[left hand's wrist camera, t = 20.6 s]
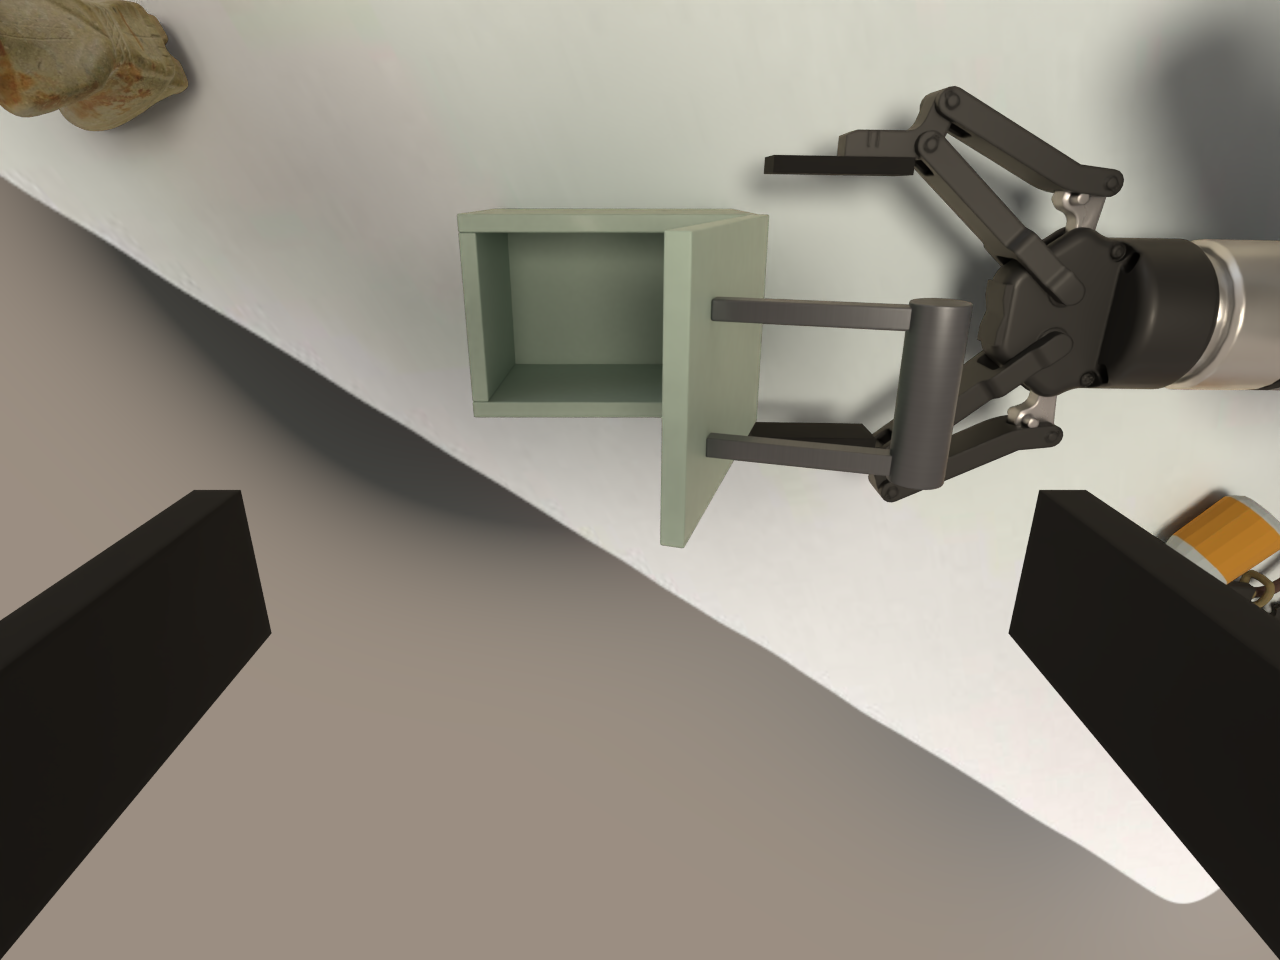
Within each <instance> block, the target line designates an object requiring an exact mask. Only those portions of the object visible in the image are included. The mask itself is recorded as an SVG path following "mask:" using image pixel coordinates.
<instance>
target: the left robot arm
mask: <svg viewBox="0 0 1280 960" xmlns="http://www.w3.org/2000/svg"><path fill="white" fill-rule="evenodd" d="M270 634H271V629H270V624H269V620H268V615H267V610H266V606H265V601H264V597H263V592H262V587H261V582H260V578H259V573H258V568H257V564H256V559H255V555H254V550H253V545H252V541H251V536H250V531H249V527H248V522H247V517H246V513H245V508H244V503H243V499H242V494H241V490H193V491H192V492H190V493H189V494H188V495H186V496H185V497H183V498H182V499H180V500H179V501H177V502H176V503H174V504H173V505H171V506H170V507H168V508H167V509H165V510H164V511H162V512H161V513H159V514H158V515H156V516H155V517H153V518H152V519H150V520H149V521H147V522H146V523H145V524H143V525H141V526H140V527H139V528H137V529H136V530H134V531H133V532H131V533H130V534H128V535H127V536H125V537H124V538H122V539H121V540H119V541H118V542H116V543H115V544H113V545H112V546H110V547H109V548H107V549H106V550H104V551H103V552H102V553H100V554H99V555H97V556H96V557H94V558H93V559H91V560H90V561H88V562H87V563H85V564H84V565H82V566H81V567H79V568H78V569H76V570H75V571H73V572H72V573H70V574H69V575H67V576H66V577H64V578H63V579H61V580H60V581H58V582H57V583H55V584H54V585H53V586H51V587H49V588H48V589H47V590H45V591H44V592H42V593H41V594H39V595H38V596H36V597H35V598H33V599H32V600H30V601H29V602H27V603H26V604H24V605H23V606H21V607H20V608H18V609H17V610H15V611H14V612H12V613H11V614H9V615H8V616H7V617H5V618H4V619H2V620H1V621H0V960H1V958H2V957H3V956H4V955H5V954H6V952H7V951H8V950H9V949H10V948H11V946H12V945H13V944H14V943H15V942H16V940H17V939H18V938H19V937H20V935H21V934H22V933H23V932H24V931H25V929H26V928H27V927H28V926H29V925H30V923H31V922H32V921H33V920H34V919H35V917H36V916H37V915H38V914H39V913H40V911H41V910H42V909H43V908H44V907H45V905H46V904H47V903H48V902H49V901H50V899H51V898H52V897H53V896H54V895H55V893H56V892H57V891H58V890H59V889H60V887H61V886H62V885H63V884H64V883H65V881H66V880H67V879H68V878H69V877H70V875H71V874H72V873H73V872H74V871H75V869H76V868H77V867H78V866H79V864H80V863H81V862H82V861H83V860H84V858H85V857H86V856H87V855H88V854H89V852H90V851H91V850H92V849H93V848H94V846H95V845H96V844H97V843H98V842H99V840H100V839H101V838H102V837H103V836H104V834H105V833H106V832H107V831H108V830H109V828H110V827H111V826H112V825H113V824H114V822H115V821H116V820H117V819H118V818H119V816H120V815H121V814H122V813H123V812H124V810H125V809H126V808H127V807H128V805H129V804H130V803H131V802H132V801H133V799H134V798H135V797H136V796H137V795H138V793H139V792H140V791H141V790H142V789H143V787H144V786H145V785H146V784H147V782H148V781H149V780H150V779H151V778H152V777H153V775H154V774H155V773H156V772H157V771H158V769H159V768H160V767H161V766H162V765H163V763H164V762H165V761H166V760H167V759H168V757H169V756H170V755H171V754H172V752H173V751H174V750H175V749H176V748H177V746H178V745H179V744H180V743H181V742H182V740H183V739H184V738H185V737H186V736H187V734H188V733H189V732H190V731H191V730H192V728H193V727H194V726H195V725H196V724H197V722H198V721H199V720H200V719H201V718H202V716H203V715H204V714H205V713H206V711H207V710H208V709H209V708H210V707H211V706H212V704H213V703H214V702H215V701H216V700H217V698H218V697H219V696H220V695H221V693H222V692H223V691H224V690H225V689H226V687H227V686H228V685H229V684H230V683H231V681H232V680H233V679H234V678H235V677H236V675H237V674H238V673H239V672H240V670H241V669H242V668H243V667H244V666H245V665H246V663H247V662H248V661H249V660H250V658H251V657H252V656H253V655H254V654H255V652H256V651H257V650H258V649H259V648H260V647H261V645H262V644H263V643H264V642H265V640H266V639H267V638H268V637H269V636H270ZM1009 634H1010V636H1011V637H1012V638H1013V639H1014V640H1015V642H1016V643H1017V644H1018V645H1019V647H1020V648H1021V649H1022V650H1023V651H1024V653H1025V654H1026V655H1027V656H1028V657H1029V659H1030V660H1031V661H1032V662H1033V663H1034V665H1035V666H1036V667H1037V668H1038V669H1039V671H1040V672H1041V673H1042V674H1043V675H1044V677H1045V678H1046V679H1047V680H1048V681H1049V683H1050V684H1051V685H1052V686H1053V687H1054V689H1055V690H1056V691H1057V692H1058V693H1059V695H1060V696H1061V697H1062V698H1063V700H1064V701H1065V702H1066V703H1067V704H1068V706H1069V707H1070V708H1071V709H1072V710H1073V712H1074V713H1075V714H1076V715H1077V716H1078V718H1079V719H1080V720H1081V721H1082V722H1083V724H1084V725H1085V726H1086V727H1087V728H1088V730H1089V731H1090V732H1091V733H1092V734H1093V736H1094V737H1095V738H1096V739H1097V740H1098V742H1099V743H1100V744H1101V745H1102V746H1103V748H1104V749H1105V750H1106V751H1107V753H1108V754H1109V755H1110V756H1111V757H1112V759H1113V760H1114V761H1115V762H1116V763H1117V765H1118V766H1119V767H1120V768H1121V769H1122V771H1123V772H1124V773H1125V774H1126V775H1127V777H1128V778H1129V779H1130V780H1131V781H1132V783H1133V784H1134V785H1135V786H1136V787H1137V789H1138V790H1139V791H1140V792H1141V793H1142V795H1143V796H1144V797H1145V798H1146V799H1147V801H1148V802H1149V803H1150V804H1151V805H1152V807H1153V808H1154V809H1155V810H1156V812H1157V813H1158V814H1159V815H1160V816H1161V818H1162V819H1163V820H1164V821H1165V822H1166V824H1167V825H1168V826H1169V827H1170V828H1171V830H1172V831H1173V832H1174V833H1175V834H1176V836H1177V837H1178V838H1179V839H1180V840H1181V842H1182V843H1183V844H1184V845H1185V846H1186V848H1187V849H1188V850H1189V851H1190V852H1191V854H1192V855H1193V856H1194V857H1195V858H1196V860H1197V861H1198V862H1199V863H1200V865H1201V866H1202V867H1203V868H1204V869H1205V871H1206V872H1207V873H1208V874H1209V875H1210V877H1211V878H1212V879H1213V880H1214V881H1215V883H1216V884H1217V885H1218V886H1219V887H1220V889H1221V890H1222V891H1223V892H1224V893H1225V895H1226V896H1227V897H1228V898H1229V899H1230V901H1231V902H1232V903H1233V904H1234V905H1235V907H1236V908H1237V909H1238V910H1239V911H1240V913H1241V914H1242V915H1243V916H1244V917H1245V919H1246V920H1247V921H1248V922H1249V923H1250V925H1251V926H1252V927H1253V928H1254V930H1255V931H1256V932H1257V933H1258V934H1259V936H1260V937H1261V938H1262V939H1263V940H1264V942H1265V943H1266V944H1267V945H1268V946H1269V948H1270V949H1271V950H1272V951H1273V952H1274V954H1275V955H1276V956H1277V957H1278V958H1279V960H1280V621H1279V620H1278V619H1276V618H1275V617H1274V616H1272V615H1271V614H1269V613H1268V612H1266V611H1265V610H1263V609H1262V608H1260V607H1259V606H1257V605H1256V604H1254V603H1253V602H1251V601H1250V600H1248V599H1247V598H1245V597H1244V596H1242V595H1241V594H1239V593H1238V592H1236V591H1235V590H1233V589H1232V588H1230V587H1229V586H1228V585H1226V584H1225V583H1223V582H1222V581H1220V580H1219V579H1217V578H1216V577H1214V576H1213V575H1211V574H1210V573H1208V572H1207V571H1205V570H1204V569H1202V568H1201V567H1199V566H1198V565H1196V564H1195V563H1193V562H1192V561H1190V560H1189V559H1187V558H1186V557H1185V556H1183V555H1182V554H1180V553H1179V552H1177V551H1176V550H1174V549H1173V548H1171V547H1170V546H1168V545H1167V544H1165V543H1164V542H1162V541H1161V540H1159V539H1158V538H1156V537H1155V536H1153V535H1152V534H1150V533H1149V532H1147V531H1146V530H1144V529H1143V528H1141V527H1140V526H1139V525H1137V524H1136V523H1134V522H1133V521H1131V520H1130V519H1128V518H1127V517H1125V516H1124V515H1122V514H1121V513H1119V512H1118V511H1116V510H1115V509H1113V508H1112V507H1110V506H1109V505H1107V504H1106V503H1104V502H1103V501H1101V500H1100V499H1098V498H1097V497H1095V496H1094V495H1093V494H1091V493H1090V492H1088V491H1087V490H1039V494H1038V499H1037V503H1036V508H1035V513H1034V517H1033V522H1032V527H1031V531H1030V536H1029V540H1028V545H1027V550H1026V554H1025V559H1024V564H1023V568H1022V573H1021V578H1020V582H1019V587H1018V592H1017V596H1016V601H1015V606H1014V610H1013V615H1012V620H1011V624H1010V629H1009Z"/></svg>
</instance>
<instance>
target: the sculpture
mask: <svg viewBox="0 0 1280 960" xmlns="http://www.w3.org/2000/svg"><path fill="white" fill-rule="evenodd" d="M167 41H168V38H167V35H166V33H165V31H164V30H163V28H162V26H161V25H160V23H159V21H158V20H157V18H156V17H155V16H153V15H150V14H147V12H146V11H145V10H144V8H143V7H142V6H141V5H139V4H137V3H134V2H130V1H123V0H0V105H1V106H2V107H3V108H4V109H5V110H7V111H8V112H10V113H12V114H14V115H16V116H20V117H34V116H39V115H42V114H46V113H49V112H53V111H55V110H57V109H59V110H60V111H61V113H62V115H63V116H64V117H65V118H66V119H67V120H68V121H69V122H70V123H72V124H74V125H75V126H77V127H79V128H82V129H84V130H88V131H103V130H108V129H112V128H115V127H118V126H120V125H122V124H124V123H126V122H128V121H130V120H132V119H133V118H135V117H136V116H138V115H139V114H141V113H143V112H144V111H146V110H147V109H148V108H150V107H151V106H152V105H154V104H155V103H157V102H158V101H160V100H162V99H164V98H166V97H169V96H171V95H173V94H179V93H181V92H183V91H184V90H185V89H186V88H187V87H188V81H187V78H186V75H185V73H184V70H183V68H182V66H181V64H180V62H179V61H178V60H177V59H175V58H174V57H173V56H171V55H170V54H169V52H168V51H167V49H166V47H165V45H166V43H167Z"/></svg>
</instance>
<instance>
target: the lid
mask: <svg viewBox="0 0 1280 960" xmlns="http://www.w3.org/2000/svg"><path fill="white" fill-rule="evenodd" d="M768 226H769V215H756V214H752V215H747V216H741V217H736V218H731V219H725V220H720V221H714V222H709V223H703V224H698V225H692V226H687V227H682V228H676V229H671V230H666V231H665V232H664V287H663V367H662V446H661V525H660V544H661V545H663V546H671V547H678V548H684V547H685V545H686V543H687V542H688V540H689V538H690V536H691V535H692V533H693V531H694V529H695V528H696V526H697V524H698V522H699V521H700V519H701V517H702V515H703V514H704V512H705V510H706V508H707V507H708V505H709V503H710V501H711V500H712V498H713V496H714V494H715V492H716V491H717V489H718V487H719V485H720V484H721V482H722V480H723V478H724V477H725V475H726V473H727V471H728V470H729V468H730V466H731V464H732V463H733V461H734V460H738V461H748V462H757V463H767V464H776V465H786V466H795V467H805V468H815V469H824V470H834V471H843V472H853V473H863V474H872V475H882V476H886V477H887V479H888V480H889V481H890V482H891V483H893V484H895V485H898V486H901V487H905V488H909V489H917V490H931V489H936V488H939V487H941V486H942V485H943V484H944V479H945V473H946V467H947V460H948V454H949V448H950V442H951V436H952V430H953V424H954V418H955V412H956V406H957V400H958V394H959V387H960V381H961V375H962V369H963V363H964V357H965V351H966V345H967V339H968V333H969V327H970V320H971V314H972V308H973V304H972V303H970V302H967V301H962V300H955V299H943V298H920V299H913V300H911V301H910V302H909V305H906V304H883V303H859V302H835V301H812V300H788V299H764V291H765V275H766V258H767V242H768ZM762 324H778V325H798V326H817V327H836V328H855V329H875V330H894V331H905V339H904V346H903V354H902V361H901V369H900V376H899V384H898V391H897V399H896V406H895V414H894V421H893V429H892V436H891V444H890V449H879V448H869V447H858V446H848V445H837V444H827V443H816V442H805V441H795V440H784V439H774V438H763V437H753V436H748V434H749V433H750V431H751V429H752V427H753V426H754V424H755V422H756V420H757V404H758V388H759V372H760V356H761V339H762Z"/></svg>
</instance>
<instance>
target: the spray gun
mask: <svg viewBox="0 0 1280 960" xmlns="http://www.w3.org/2000/svg"><path fill="white" fill-rule="evenodd" d="M1166 544H1167V545H1168V546H1170V547H1171V548H1173V549H1174V550H1176V551H1177V552H1179V553H1180V554H1182V555H1183V556H1185V557H1186V558H1187V559H1189V560H1190V561H1192V562H1193V563H1195V564H1196V565H1198V566H1199V567H1201V568H1202V569H1204V570H1205V571H1207V572H1208V573H1210V574H1211V575H1213V576H1214V577H1216V578H1217V579H1219V580H1220V581H1222V582H1223V583H1225V584H1226V585H1228V586H1229V587H1230V588H1232V589H1233V590H1235V591H1236V592H1238V593H1239V594H1241V595H1242V596H1244V597H1245V598H1247V599H1248V600H1250V601H1251V600H1252V599H1253V598H1258V597H1260V598H1259V599H1258V600H1257V601H1255V602H1253V603H1254V604H1256V605H1257V606H1259V607H1260V608H1261V607H1263V606H1264V605H1266V604H1267V603H1268V602H1269V601H1270V600H1271V599H1272V597H1273V595H1274V594H1275V593H1277V592H1279V591H1280V578H1279V579H1277V580H1275V581H1273V582H1271V581H1270V580H1269V579H1268V578H1267V577H1266V576H1264V575H1262V574H1260V573H1258V572H1256V571H1254V570H1250V569H1251V568H1253V567H1254V566H1256V565H1257V564H1259V563H1260V562H1262V561H1263V560H1265V559H1266V558H1268V557H1269V556H1271V555H1272V554H1274V553H1275V552H1277V551H1278V550H1280V522H1279V521H1278V520H1277V519H1276V518H1275V517H1274V516H1273V515H1272V514H1270V513H1269V512H1268V511H1267V510H1266V509H1264V508H1263V507H1262V506H1260V505H1259V504H1258V503H1256V502H1255V501H1253V500H1252V499H1250V498H1248V497H1245V496H1232V495H1227V496H1224V497H1223V498H1222V499H1220V500H1219V501H1218V502H1216V503H1215V504H1214V505H1212V506H1211V507H1209V508H1208V509H1207V510H1205V511H1204V512H1203V513H1201V514H1200V515H1199V516H1197V517H1196V518H1195V519H1193V520H1192V521H1190V522H1189V523H1188V524H1186V525H1185V526H1184V527H1182V528H1181V529H1180V530H1178V531H1177V532H1176V533H1174V534H1173V535H1172V536H1171V537H1170V538H1169V540H1168V541H1167V542H1166ZM1248 570H1249V571H1248ZM1242 574H1243V575H1242ZM1241 575H1242V577H1241V579H1240V581H1239V582H1235V581H1233V580H1234V579H1236V578H1237V577H1239V576H1241ZM1252 577H1253V578H1255V579H1257V580H1258V581H1260V582H1261V583H1262V584H1263V585H1265V586H1261V587H1253V586H1251V585H1250V584H1249V581H1250V579H1251V578H1252ZM1271 615H1272V616H1274V617H1275V618H1276V619H1278V620H1279V621H1280V605H1278V604H1276V605H1274V606H1273V611H1272V612H1271Z"/></svg>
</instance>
